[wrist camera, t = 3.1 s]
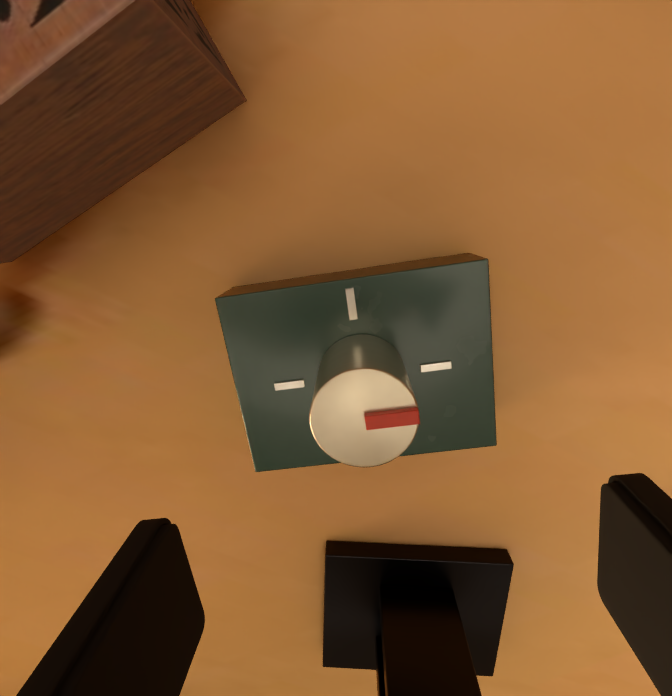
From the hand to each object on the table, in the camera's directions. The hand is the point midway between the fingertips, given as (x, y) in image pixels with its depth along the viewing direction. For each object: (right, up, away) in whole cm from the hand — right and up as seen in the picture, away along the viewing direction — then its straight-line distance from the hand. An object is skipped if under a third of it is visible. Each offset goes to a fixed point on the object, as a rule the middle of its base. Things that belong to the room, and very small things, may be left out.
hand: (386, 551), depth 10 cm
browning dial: (0, +3, +10) cm, 11 cm away
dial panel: (0, +4, +13) cm, 14 cm away
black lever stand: (+4, -12, +18) cm, 22 cm away
